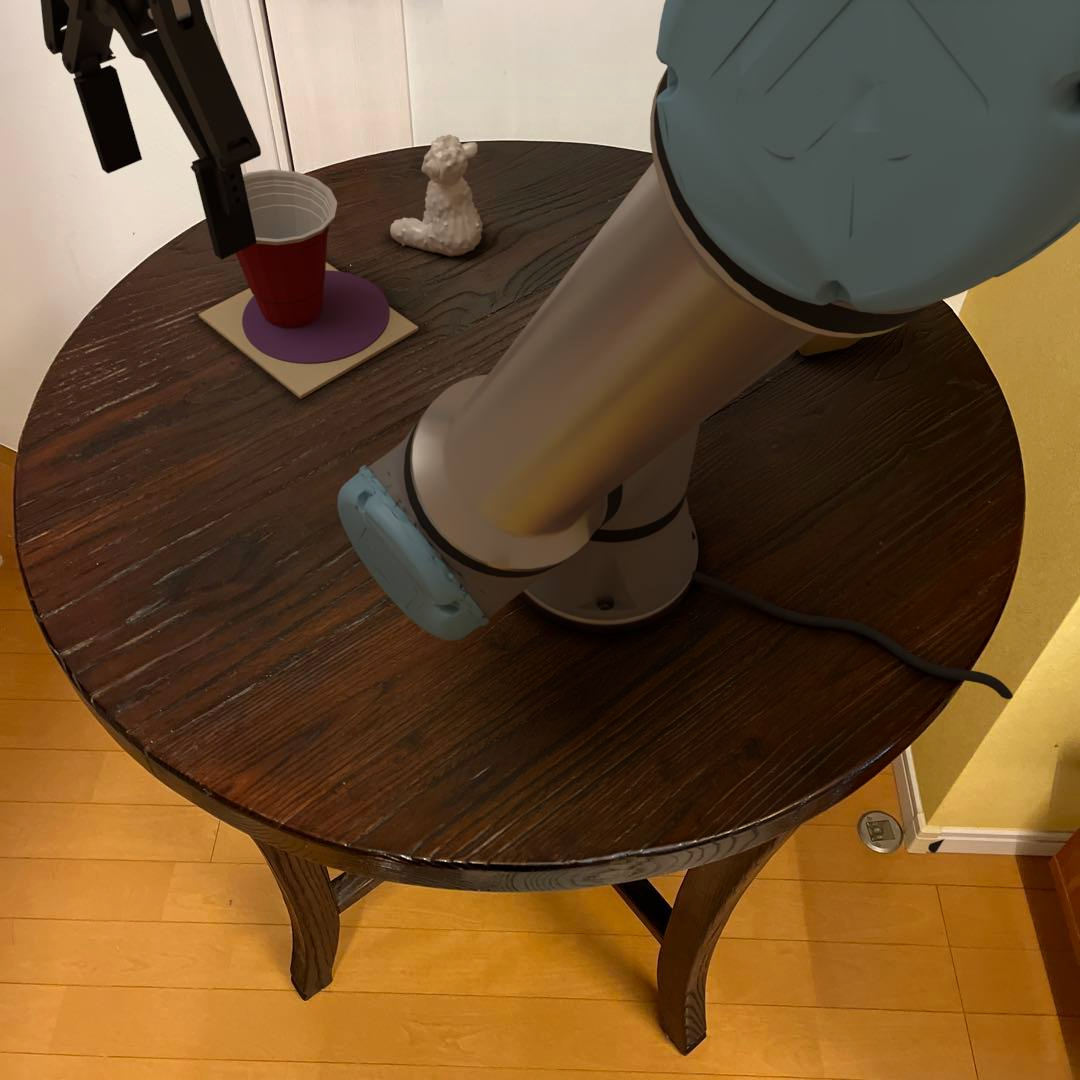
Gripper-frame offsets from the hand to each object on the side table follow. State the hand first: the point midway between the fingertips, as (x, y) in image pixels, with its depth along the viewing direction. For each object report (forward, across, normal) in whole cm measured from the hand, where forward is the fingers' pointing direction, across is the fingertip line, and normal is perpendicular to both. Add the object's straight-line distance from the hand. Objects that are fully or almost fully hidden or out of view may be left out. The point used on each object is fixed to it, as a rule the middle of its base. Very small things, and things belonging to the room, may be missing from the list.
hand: (177, 205), depth 72 cm
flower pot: (+25, +24, +49) cm, 60 cm away
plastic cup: (+24, -13, +15) cm, 31 cm away
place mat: (+25, -11, +15) cm, 31 cm away
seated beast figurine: (+25, -12, +34) cm, 44 cm away
